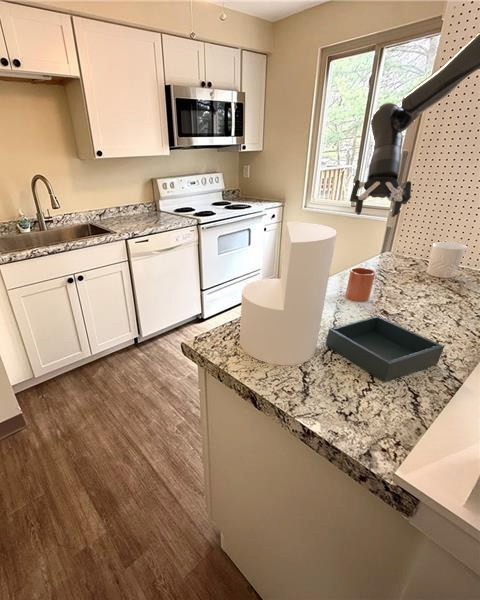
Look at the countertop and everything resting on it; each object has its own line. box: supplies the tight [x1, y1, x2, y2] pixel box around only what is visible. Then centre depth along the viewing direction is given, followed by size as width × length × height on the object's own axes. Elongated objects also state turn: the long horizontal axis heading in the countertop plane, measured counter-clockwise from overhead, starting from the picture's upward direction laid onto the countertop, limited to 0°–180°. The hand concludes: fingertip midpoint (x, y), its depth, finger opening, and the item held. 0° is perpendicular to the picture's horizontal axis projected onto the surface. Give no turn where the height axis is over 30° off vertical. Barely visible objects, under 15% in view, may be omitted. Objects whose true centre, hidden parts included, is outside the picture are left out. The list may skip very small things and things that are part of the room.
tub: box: [325, 315, 445, 383], centre depth 68 cm, size 14×14×5 cm
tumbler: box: [344, 267, 376, 303], centre depth 92 cm, size 6×6×8 cm
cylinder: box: [239, 221, 338, 366], centre depth 70 cm, size 17×17×28 cm
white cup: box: [426, 241, 468, 279], centre depth 101 cm, size 8×8×10 cm
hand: (376, 214), depth 90 cm, fingers open, 8 cm apart
